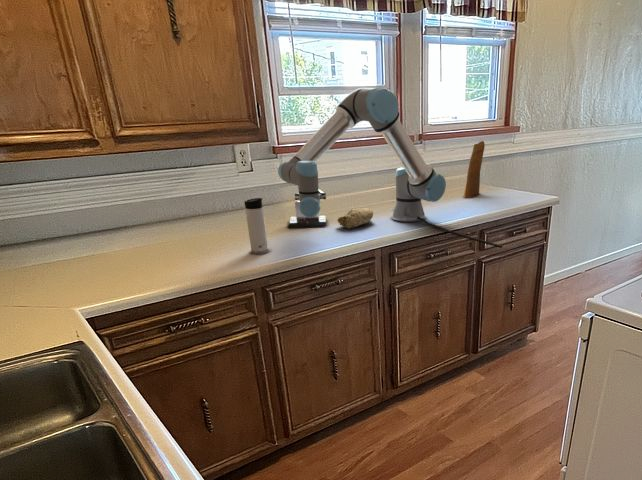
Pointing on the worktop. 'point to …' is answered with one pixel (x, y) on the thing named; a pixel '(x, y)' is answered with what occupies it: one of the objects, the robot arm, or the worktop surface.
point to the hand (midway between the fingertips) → (310, 189)
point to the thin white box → (300, 215)
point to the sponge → (355, 217)
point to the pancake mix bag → (474, 171)
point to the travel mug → (256, 226)
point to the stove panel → (308, 222)
